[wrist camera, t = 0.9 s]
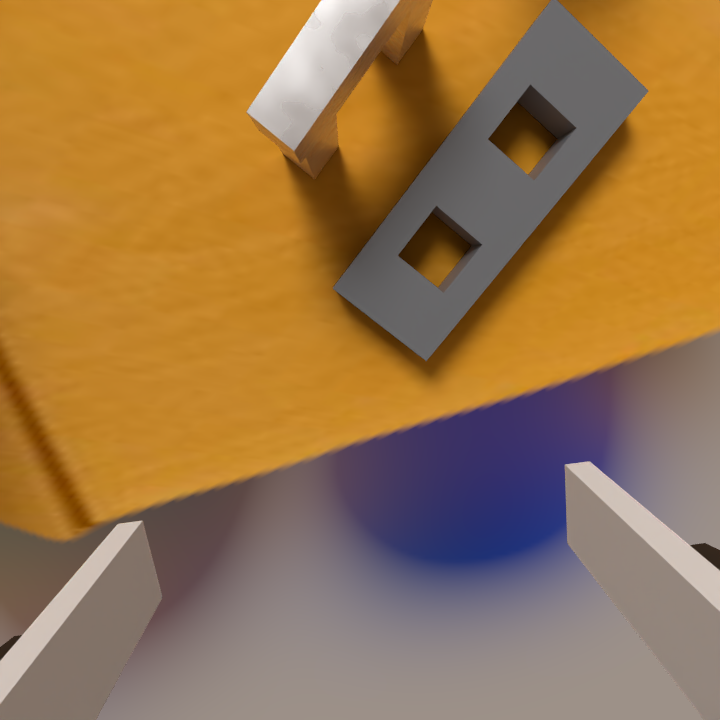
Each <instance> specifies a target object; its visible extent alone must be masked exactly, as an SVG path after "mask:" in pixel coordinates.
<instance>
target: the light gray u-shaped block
mask: <svg viewBox="0 0 720 720" xmlns="http://www.w3.org/2000/svg"><path fill="white" fill-rule="evenodd" d="M432 1H433V0H321V2H320V3H319V5H318V6H317V8H316V9H315V11H314V12H313V14H312V15H311V17H310V18H309V20H308V21H307V23H306V24H305V26H304V27H303V29H302V30H301V32H300V33H299V35H298V36H297V38H296V39H295V41H294V42H293V44H292V45H291V46H290V48H289V49H288V51H287V52H286V54H285V55H284V57H283V58H282V60H281V61H280V63H279V64H278V66H277V67H276V69H275V70H274V72H273V73H272V75H271V76H270V78H269V79H268V81H267V82H266V84H265V85H264V87H263V88H262V90H261V91H260V93H259V94H258V96H257V97H256V99H255V100H254V101H253V103H252V104H251V106H250V107H249V109H248V110H247V114H248V115H249V116H250V118H251V119H252V121H253V122H254V124H255V125H256V127H257V128H258V130H259V131H260V132H262V133H263V134H264V135H265V136H266V137H268V138H269V139H270V140H271V141H273V142H274V143H275V144H276V145H277V146H278V147H279V148H280V150H281V152H282V153H283V154H284V155H285V156H286V157H288V158H289V159H290V160H291V161H292V162H294V163H295V164H296V165H297V166H299V167H300V168H301V169H302V170H303V171H305V172H306V173H307V174H308V175H310V176H311V177H312V178H313V179H314V180H315V179H316V177H317V176H318V174H319V173H320V172H321V170H322V169H323V167H324V166H325V165H326V163H327V162H328V160H329V159H330V158H331V156H332V155H333V154H334V152H335V151H336V149H337V148H338V147H339V145H338V131H337V116H336V114H337V112H338V111H339V110H340V108H341V107H342V105H343V104H344V102H345V101H346V100H347V98H348V97H349V95H350V94H351V93H352V91H353V90H354V88H355V87H356V86H357V84H358V83H359V81H360V80H361V78H362V77H363V76H364V74H365V73H366V71H367V70H368V69H369V67H370V66H371V64H372V63H373V62H374V60H375V59H376V57H377V56H378V54H379V53H380V52H381V51H382V52H383V53H384V54H385V55H386V56H387V57H388V58H389V59H391V60H392V61H393V62H394V63H395V64H396V65H397V64H398V63H399V62H400V60H401V59H402V57H403V56H404V55H405V53H406V52H407V50H408V49H409V48H410V46H411V45H412V43H413V42H414V41H415V39H416V38H417V37H418V35H419V34H420V32H421V31H422V30H423V27H424V24H425V22H426V19H427V16H428V13H429V10H430V7H431V4H432Z"/></svg>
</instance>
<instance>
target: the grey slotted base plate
mask: <svg viewBox="0 0 720 720" xmlns="http://www.w3.org/2000/svg"><path fill="white" fill-rule="evenodd" d="M647 92H648V90H647V89H646V88H645V87H644V86H643V85H642V84H641V83H640V82H639V81H638V80H637V79H636V78H635V77H634V76H633V75H632V74H631V73H630V72H629V71H628V70H627V69H626V68H625V67H624V66H623V65H622V64H621V63H620V62H619V61H618V60H617V59H616V58H615V57H614V56H613V55H612V54H611V53H610V52H609V51H608V50H607V49H606V48H605V47H604V46H603V45H602V44H601V43H600V42H599V41H598V40H597V39H596V38H595V37H594V36H593V35H592V34H591V33H590V32H589V31H588V30H587V29H586V28H585V27H584V26H583V25H582V24H580V23H579V22H578V21H577V20H576V19H575V18H574V17H573V16H572V15H571V14H570V13H569V12H568V11H567V10H566V9H565V8H564V7H563V6H562V5H561V4H560V3H559V2H558V1H557V0H551V1H550V2H549V4H548V5H547V6H546V7H545V9H544V10H543V11H542V12H541V14H540V15H539V16H538V18H537V19H536V20H535V21H534V23H533V24H532V25H531V27H530V28H529V29H528V31H527V32H526V33H525V35H524V36H523V37H522V38H521V40H520V41H519V42H518V44H517V45H516V46H515V48H514V49H513V50H512V52H511V53H510V54H509V56H508V57H507V58H506V60H505V61H504V62H503V64H502V65H501V66H500V68H499V69H498V70H497V71H496V73H495V74H494V75H493V77H492V78H491V79H490V81H489V82H488V83H487V85H486V86H485V87H484V89H483V90H482V91H481V93H480V94H479V95H478V97H477V98H476V99H475V101H474V102H473V103H472V104H471V106H470V107H469V108H468V110H467V111H466V112H465V114H464V115H463V116H462V118H461V119H460V120H459V122H458V123H457V124H456V126H455V127H454V128H453V130H452V131H451V132H450V133H449V135H448V136H447V137H446V139H445V140H444V141H443V143H442V144H441V145H440V147H439V148H438V149H437V151H436V152H435V153H434V155H433V156H432V157H431V159H430V160H429V161H428V163H427V164H426V165H425V166H424V168H423V169H422V170H421V172H420V173H419V174H418V176H417V177H416V178H415V180H414V181H413V182H412V184H411V185H410V186H409V188H408V189H407V190H406V192H405V193H404V194H403V196H402V197H401V198H400V199H399V201H398V202H397V203H396V205H395V206H394V207H393V209H392V210H391V211H390V213H389V214H388V215H387V217H386V218H385V219H384V221H383V222H382V223H381V225H380V226H379V227H378V228H377V230H376V231H375V232H374V234H373V235H372V236H371V238H370V239H369V240H368V242H367V243H366V244H365V246H364V247H363V248H362V250H361V251H360V252H359V254H358V255H357V256H356V258H355V259H354V260H353V261H352V263H351V264H350V265H349V267H348V268H347V269H346V271H345V272H344V273H343V275H342V276H341V277H340V279H339V280H338V281H337V283H336V284H335V285H334V287H333V289H334V290H335V291H336V292H338V293H339V294H340V295H342V296H343V297H344V298H345V299H347V300H348V301H349V302H351V303H352V304H353V305H355V306H356V307H357V308H358V309H360V310H361V311H362V312H364V313H365V314H366V315H367V316H369V317H370V318H371V319H373V320H374V321H375V322H376V323H378V324H379V325H380V326H382V327H383V328H384V329H385V330H387V331H388V332H389V333H391V334H392V335H393V336H394V337H396V338H397V339H398V340H400V341H401V342H402V343H404V344H405V345H406V346H407V347H409V348H410V349H411V350H413V351H414V352H415V353H416V354H418V355H419V356H420V357H422V358H423V359H424V360H425V361H427V360H428V359H429V357H430V356H431V355H432V354H433V353H434V351H435V350H436V349H437V348H438V346H439V345H440V344H441V343H442V342H443V340H444V339H445V338H446V337H447V335H448V334H449V333H450V332H451V331H452V329H453V328H454V327H455V326H456V325H457V323H458V322H459V321H460V320H461V318H462V317H463V316H464V315H465V314H466V312H467V311H468V310H469V309H470V308H471V306H472V305H473V304H474V303H475V301H476V300H477V299H478V298H479V297H480V295H481V294H482V293H483V292H484V290H485V289H486V288H487V287H488V286H489V284H490V283H491V282H492V281H493V280H494V278H495V277H496V276H497V275H498V273H499V272H500V271H501V270H502V269H503V267H504V266H505V265H506V264H507V263H508V261H509V260H510V259H511V258H512V256H513V255H514V254H515V253H516V252H517V250H518V249H519V248H520V247H521V245H522V244H523V243H524V242H525V241H526V239H527V238H528V237H529V236H530V235H531V233H532V232H533V231H534V230H535V228H536V227H537V226H538V225H539V224H540V222H541V221H542V220H543V219H544V218H545V216H546V215H547V214H548V213H549V211H550V210H551V209H552V208H553V207H554V205H555V204H556V203H557V202H558V200H559V199H560V198H561V197H562V196H563V194H564V193H565V192H566V191H567V190H568V188H569V187H570V186H571V185H572V183H573V182H574V181H575V180H576V179H577V177H578V176H579V175H580V174H581V173H582V171H583V170H584V169H585V168H586V166H587V165H588V164H589V163H590V162H591V160H592V159H593V158H594V157H595V155H596V154H597V153H598V152H599V151H600V149H601V148H602V147H603V146H604V145H605V143H606V142H607V141H608V140H609V138H610V137H611V136H612V135H613V134H614V132H615V131H616V130H617V129H618V127H619V126H620V125H621V124H622V123H623V121H624V120H625V119H626V118H627V117H628V115H629V114H630V113H631V112H632V110H633V109H634V108H635V107H636V106H637V104H638V103H639V102H640V101H641V100H642V98H643V97H644V96H645V95H646V93H647ZM516 102H518V103H519V104H520V105H521V106H523V107H524V108H525V109H526V110H527V111H528V112H529V113H530V114H531V115H532V116H533V117H534V118H536V119H537V120H538V121H539V122H540V123H541V124H542V125H543V126H544V127H545V128H546V129H547V130H548V131H550V132H551V133H552V134H553V135H554V136H555V137H556V138H557V140H556V141H555V142H554V144H553V145H552V146H551V147H550V149H549V150H548V151H547V152H546V154H545V155H544V156H543V157H542V159H541V160H540V161H539V162H538V164H537V165H536V166H535V167H534V169H533V170H532V171H531V172H530V174H529V175H527V174H526V173H525V172H524V171H523V170H522V169H521V168H519V167H518V166H517V165H516V164H515V163H514V162H513V161H512V160H511V159H509V158H508V157H507V156H506V155H505V154H504V153H503V152H502V151H501V150H499V149H498V148H497V147H496V146H495V145H494V144H493V143H492V142H491V141H489V140H488V138H489V137H490V136H491V135H492V133H493V132H494V131H495V129H496V128H497V127H498V126H499V124H500V123H501V122H502V120H503V119H504V118H505V116H506V115H507V114H508V113H509V111H510V110H511V109H512V107H513V106H514V105H515V104H516ZM431 212H432V213H433V214H434V215H436V216H437V217H438V218H439V219H440V220H442V221H443V222H444V223H445V224H446V225H447V226H449V227H450V228H451V229H452V230H453V231H455V232H456V233H457V234H458V235H459V236H461V237H462V238H463V239H464V240H465V241H466V242H468V243H469V244H470V245H471V247H470V248H469V250H468V251H467V252H466V253H465V255H464V256H463V257H462V258H461V260H460V261H459V262H458V263H457V265H456V266H455V267H454V268H453V270H452V271H451V272H450V273H449V275H448V276H447V277H446V278H445V280H444V281H443V282H442V283H441V285H440V286H439V287H438V288H437V287H436V286H435V285H433V284H432V283H431V282H430V281H429V280H427V279H426V278H425V277H424V276H422V275H421V274H420V273H419V272H417V271H416V270H415V269H414V268H413V267H411V266H410V265H409V264H408V263H406V262H405V261H404V260H403V259H401V258H400V257H399V256H398V255H399V253H400V252H401V251H402V249H403V248H404V247H405V246H406V244H407V243H408V242H409V240H410V239H411V238H412V237H413V235H414V234H415V233H416V231H417V230H418V229H419V228H420V226H421V225H422V224H423V222H424V221H425V220H426V218H427V217H428V216H429V215H430V213H431Z"/></svg>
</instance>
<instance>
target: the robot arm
mask: <svg viewBox="0 0 720 720" xmlns="http://www.w3.org/2000/svg"><path fill="white" fill-rule="evenodd" d="M565 481H566V482H565V484H566V511H567V512H566V513H567V542H568V545H569V546H570V547H571V549H572V550H573V551H574V553H576V555H577V556H578V558H579V559H580V560H581V562H582V563H583V564H584V565H585V567H586V568H587V569H588V571H590V573H591V574H592V576H593V577H594V578H595V580H596V581H597V582H598V584H599V585H600V586H601V587H602V589H603V590H604V591H605V593H606V594H607V595H608V596H609V598H610V599H611V600H612V602H613V603H614V604H615V606H616V607H617V608H618V609H619V611H620V612H621V613H622V615H623V616H624V617H625V618H626V620H627V621H628V622H629V624H630V625H631V626H632V627H633V629H634V630H635V631H636V633H637V634H638V635H639V637H640V638H641V639H642V640H643V642H644V643H645V644H646V646H647V647H648V648H649V649H650V651H651V652H652V653H653V655H654V656H655V657H656V659H657V660H658V661H659V662H660V664H661V665H662V666H663V667H664V669H665V670H666V671H667V673H668V674H669V675H670V676H671V678H672V679H673V680H674V682H675V683H676V684H677V686H678V687H679V688H680V690H681V691H682V692H683V693H684V695H685V696H686V697H687V698H688V700H689V701H690V702H691V704H692V705H693V706H694V708H695V709H696V710H697V711H698V713H699V714H700V715H701V717H702V718H703V719H704V720H720V550H718V549H716V548H714V547H712V546H710V545H708V544H706V543H703V544H695V545H689V544H687V543H686V542H685V541H684V540H683V539H681V538H680V537H679V536H678V535H677V534H675V533H674V532H673V531H672V530H671V529H669V528H668V527H667V526H666V525H665V524H664V523H662V522H661V521H660V520H659V519H657V518H656V517H655V516H654V515H653V514H652V513H650V512H649V511H648V510H647V509H646V508H644V507H643V506H642V505H641V504H639V503H638V502H637V501H636V500H635V499H634V498H632V497H631V496H630V495H629V494H627V492H625V491H624V490H623V489H621V487H619V486H618V485H617V484H616V483H615V482H613V481H612V480H611V479H610V478H608V477H607V476H606V475H605V474H604V473H603V472H601V471H600V470H599V469H598V468H597V467H595V466H594V465H593V464H592V463H591V462H582V463H574V464H567V465H565ZM161 599H162V594H161V590H160V586H159V582H158V578H157V575H156V571H155V567H154V563H153V559H152V555H151V551H150V548H149V544H148V540H147V536H146V532H145V529H144V524H143V521H137V522H129V523H122V524H118V525H117V526H116V527H115V528H114V529H113V530H112V531H111V533H110V534H109V535H108V536H107V537H106V538H105V540H104V541H103V542H102V543H101V544H100V545H99V547H98V548H97V549H96V550H95V551H94V552H93V554H92V555H91V556H90V557H89V558H88V559H87V561H86V562H85V563H84V564H83V565H82V566H81V567H80V569H79V570H78V571H77V572H76V573H75V575H74V576H73V577H72V578H71V579H70V580H69V581H68V583H67V584H66V585H65V586H64V587H63V588H62V590H61V591H60V592H59V593H58V594H57V595H56V597H55V598H54V599H53V600H52V601H51V602H50V604H49V605H48V606H47V607H46V608H45V609H44V611H43V612H42V613H41V614H40V615H39V616H38V618H37V619H36V620H35V621H34V622H33V623H32V625H31V626H30V627H29V628H28V629H27V630H26V631H25V633H24V634H23V635H20V636H14V637H13V638H11V639H10V640H9V641H8V642H6V643H5V644H4V645H2V646H1V647H0V720H96V719H97V716H98V715H99V713H100V711H101V709H102V707H103V706H104V704H105V702H106V700H107V698H108V696H109V695H110V693H111V691H112V689H113V687H114V685H115V683H116V682H117V680H118V678H119V676H120V674H121V672H122V671H123V669H124V667H125V665H126V663H127V661H128V660H129V658H130V656H131V654H132V652H133V650H134V649H135V647H136V645H137V643H138V641H139V639H140V638H141V636H142V634H143V632H144V630H145V628H146V626H147V624H148V622H149V621H150V619H151V617H152V615H153V614H154V612H155V610H156V608H157V606H158V604H159V602H160V601H161Z"/></svg>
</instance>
